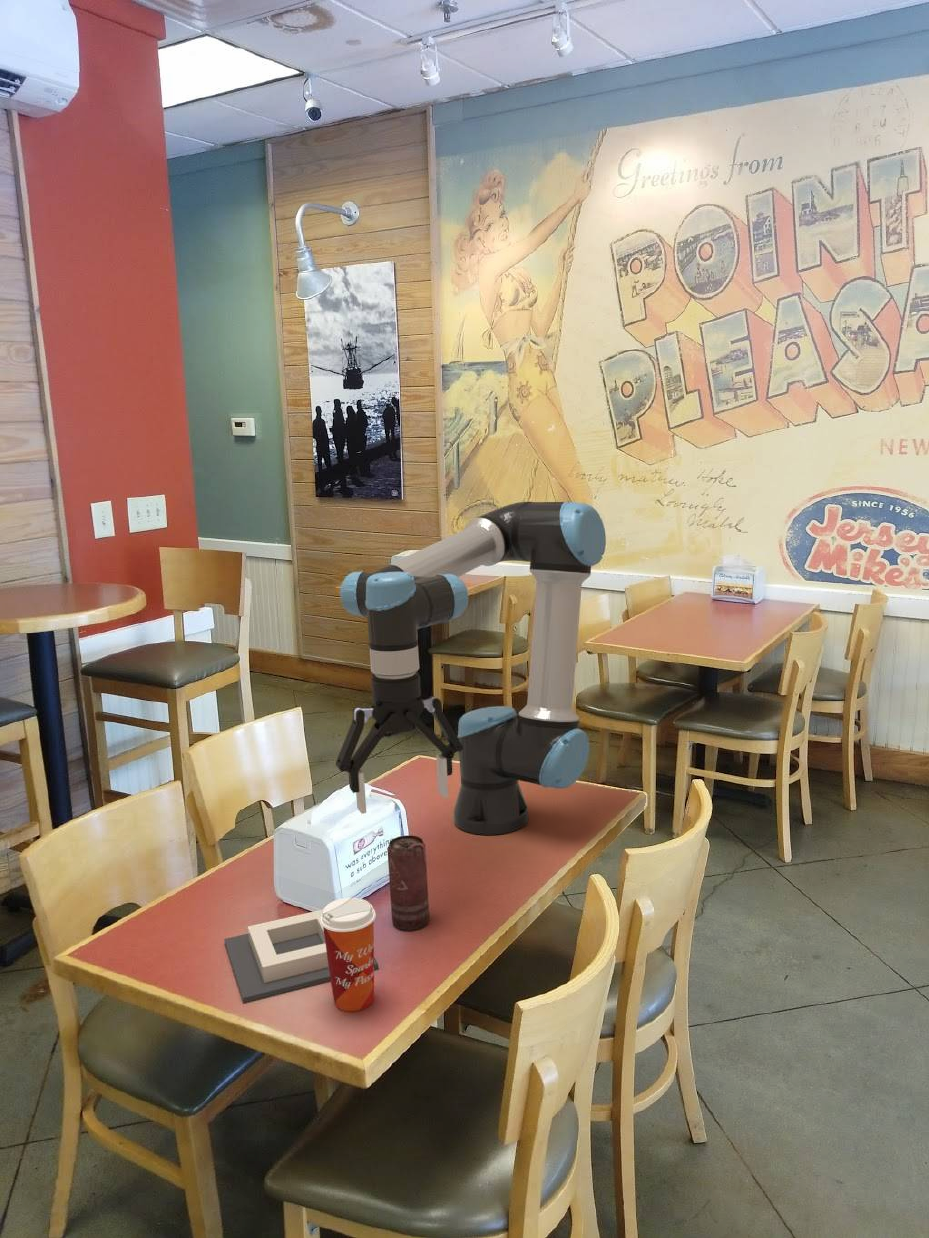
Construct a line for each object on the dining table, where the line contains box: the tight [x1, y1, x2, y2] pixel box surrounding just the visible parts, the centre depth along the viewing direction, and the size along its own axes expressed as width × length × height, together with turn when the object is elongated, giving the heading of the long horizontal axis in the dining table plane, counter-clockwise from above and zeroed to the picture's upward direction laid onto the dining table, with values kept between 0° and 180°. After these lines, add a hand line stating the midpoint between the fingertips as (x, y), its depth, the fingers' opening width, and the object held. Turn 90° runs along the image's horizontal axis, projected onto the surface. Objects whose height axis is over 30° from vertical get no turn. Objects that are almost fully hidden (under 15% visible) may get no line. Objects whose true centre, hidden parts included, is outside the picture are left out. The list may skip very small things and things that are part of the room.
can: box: [386, 834, 430, 932], centre depth 156 cm, size 6×6×14 cm
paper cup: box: [320, 897, 377, 1013], centre depth 135 cm, size 8×8×14 cm
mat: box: [223, 933, 379, 1004], centre depth 149 cm, size 20×18×1 cm
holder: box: [247, 908, 329, 983], centre depth 148 cm, size 13×13×2 cm
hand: (403, 802), depth 154 cm, fingers open, 13 cm apart
